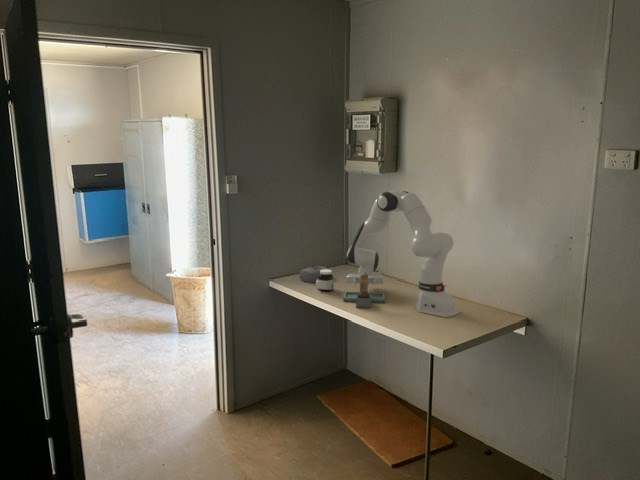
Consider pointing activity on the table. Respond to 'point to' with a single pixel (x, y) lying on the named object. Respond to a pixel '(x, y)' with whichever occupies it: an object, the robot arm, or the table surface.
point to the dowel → (363, 286)
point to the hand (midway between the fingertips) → (364, 282)
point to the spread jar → (325, 280)
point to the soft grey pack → (311, 273)
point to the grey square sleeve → (363, 302)
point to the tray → (374, 296)
